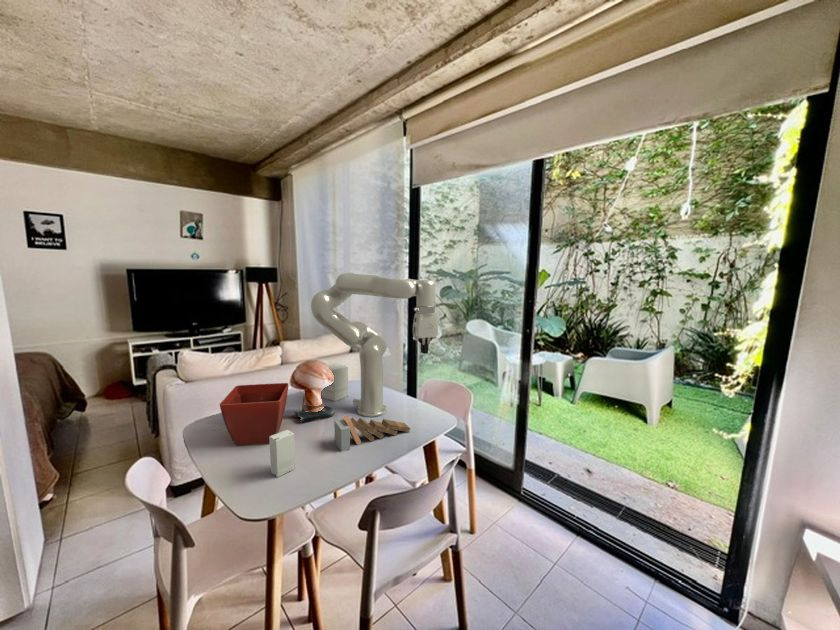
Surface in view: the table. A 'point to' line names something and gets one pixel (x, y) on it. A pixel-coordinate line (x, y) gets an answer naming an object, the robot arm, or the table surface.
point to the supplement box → (337, 383)
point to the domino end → (352, 429)
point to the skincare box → (282, 452)
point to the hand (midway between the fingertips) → (424, 352)
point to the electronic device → (315, 414)
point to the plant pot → (254, 412)
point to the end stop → (342, 434)
